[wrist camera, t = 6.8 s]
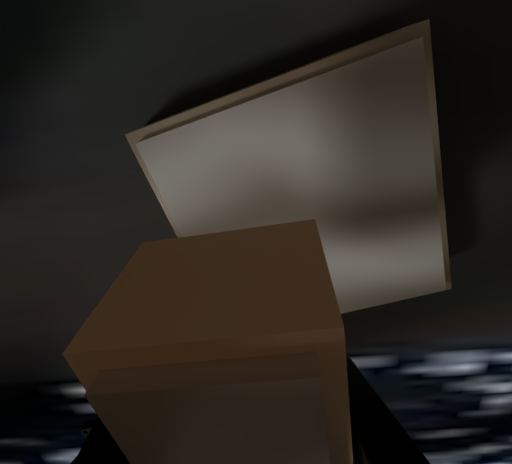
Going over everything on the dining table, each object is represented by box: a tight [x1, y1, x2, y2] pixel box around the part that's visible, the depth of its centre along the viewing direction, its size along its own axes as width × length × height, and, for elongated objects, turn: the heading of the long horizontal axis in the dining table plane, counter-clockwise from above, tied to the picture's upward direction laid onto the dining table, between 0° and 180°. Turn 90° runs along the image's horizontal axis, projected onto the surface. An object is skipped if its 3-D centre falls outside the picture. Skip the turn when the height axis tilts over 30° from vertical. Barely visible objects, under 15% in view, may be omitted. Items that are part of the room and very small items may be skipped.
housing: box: [62, 219, 353, 464], centre depth 9 cm, size 5×8×4 cm, turn 10°
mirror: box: [125, 19, 452, 314], centre depth 18 cm, size 14×14×3 cm
